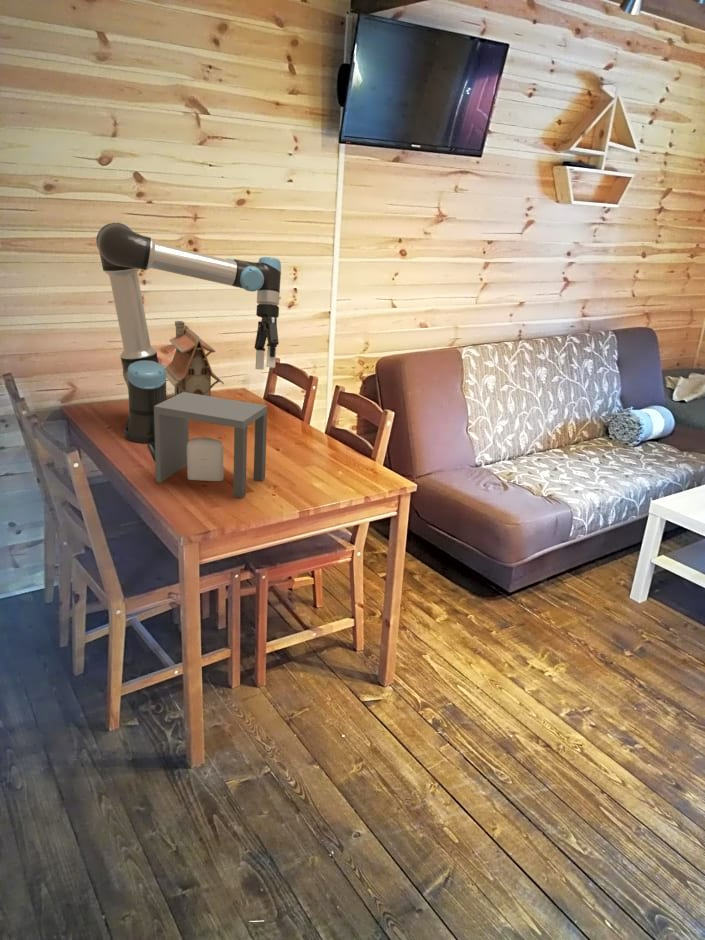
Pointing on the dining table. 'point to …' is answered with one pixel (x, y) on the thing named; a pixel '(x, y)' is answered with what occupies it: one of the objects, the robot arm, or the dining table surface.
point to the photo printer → (205, 459)
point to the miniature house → (190, 363)
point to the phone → (152, 449)
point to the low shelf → (211, 410)
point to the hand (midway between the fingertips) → (265, 368)
